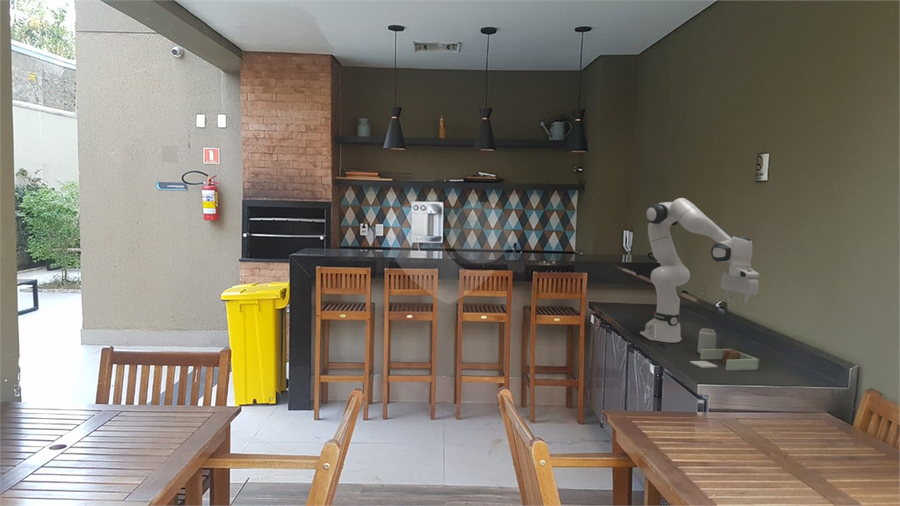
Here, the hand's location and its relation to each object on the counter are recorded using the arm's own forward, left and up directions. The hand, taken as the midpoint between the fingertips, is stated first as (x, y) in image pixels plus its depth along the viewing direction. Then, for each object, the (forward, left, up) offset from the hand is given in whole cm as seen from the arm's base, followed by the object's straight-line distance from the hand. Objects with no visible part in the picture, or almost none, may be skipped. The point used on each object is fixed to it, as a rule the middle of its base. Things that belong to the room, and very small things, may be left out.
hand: (737, 302), depth 267 cm
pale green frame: (+5, -6, -27) cm, 28 cm away
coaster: (+5, -19, -27) cm, 34 cm away
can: (-12, -5, -28) cm, 31 cm away
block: (+5, -5, -28) cm, 28 cm away
